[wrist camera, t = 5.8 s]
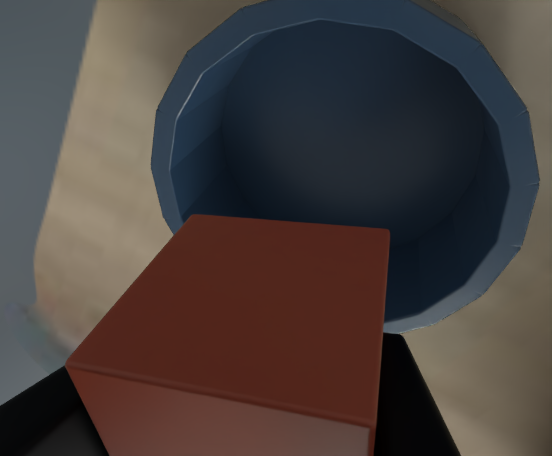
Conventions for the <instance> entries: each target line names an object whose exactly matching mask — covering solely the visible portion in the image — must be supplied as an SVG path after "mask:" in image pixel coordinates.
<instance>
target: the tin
mask: <svg viewBox="0 0 552 456" xmlns="http://www.w3.org/2000/svg"><path fill="white" fill-rule="evenodd" d="M151 170H152V174H153V178H154V182H155V186H156V190H157V194H158V198H159V202H160V206H161V211H162V215H163V218H164V219H165V221H166V223H167V225H168V226H169V228H170V229H171V231H172V233H173V234H174V235H175V233H176V232H177V231H178V230H179V229H180V228H181V227H182V225H183V224H184V223H185V222H186V221H187V220H188V218H189V217H190V216H191V215H193V214H201V215H214V216H227V217H240V218H253V219H266V220H279V221H292V222H305V223H318V224H331V225H344V226H357V227H369V228H382V229H388V230H389V232H390V245H389V258H388V272H387V286H386V299H385V313H384V327H383V332H386V333H393V334H400V333H404V332H408V331H412V330H416V329H420V328H424V327H428V326H431V325H434V324H436V323H438V322H439V321H441V320H443V319H444V318H446V317H448V316H449V315H451V314H453V313H454V312H456V311H458V310H459V309H461V308H463V307H464V306H466V305H468V304H469V303H471V302H473V301H474V300H476V299H477V298H479V297H481V296H482V295H483V294H484V293H485V292H486V291H487V289H488V288H489V287H490V286H491V285H492V283H493V282H494V281H495V280H496V278H497V277H498V276H499V275H500V273H501V272H502V271H503V270H504V269H505V267H506V266H507V265H508V264H509V262H510V261H511V260H512V259H513V257H514V256H515V255H516V254H517V253H518V251H519V250H520V248H521V246H522V244H523V241H524V237H525V234H526V230H527V227H528V223H529V220H530V216H531V213H532V209H533V206H534V202H535V199H536V196H537V192H538V189H539V181H540V178H539V172H538V166H537V160H536V154H535V147H534V141H533V135H532V129H531V123H530V117H529V112H528V111H527V107H526V106H525V104H524V103H523V101H522V100H521V98H520V97H519V96H518V94H517V93H516V91H515V90H514V88H513V87H512V85H511V84H510V83H509V81H508V80H507V78H506V77H505V75H504V74H503V72H502V71H501V70H500V68H499V67H498V65H497V64H496V62H495V61H494V60H493V58H492V57H491V55H490V54H489V52H488V51H487V49H486V48H485V47H484V45H483V44H482V43H481V42H480V40H479V39H478V38H477V37H476V36H475V35H474V34H473V32H472V31H471V30H470V29H469V28H468V27H467V25H466V24H465V23H464V22H463V21H462V20H461V19H460V18H458V17H457V16H455V15H453V14H452V13H450V12H448V11H447V10H445V9H443V8H442V7H440V6H438V5H437V4H435V3H434V2H432V1H430V0H267V1H263V2H259V3H256V4H252V5H249V6H245V7H243V8H241V9H239V10H238V11H237V12H235V13H234V14H233V15H232V16H230V17H229V18H228V19H227V20H225V21H224V22H223V23H222V24H221V25H219V26H218V27H217V28H216V29H214V30H213V31H212V32H211V33H209V34H208V35H207V36H206V37H205V38H203V39H202V40H201V41H200V42H198V43H197V44H196V45H195V46H193V47H192V48H191V49H190V50H189V51H187V54H186V55H185V56H184V58H183V60H182V62H181V64H180V65H179V67H178V69H177V71H176V73H175V75H174V77H173V79H172V81H171V83H170V84H169V86H168V88H167V90H166V92H165V94H164V96H163V98H162V100H161V102H160V104H159V105H158V109H157V110H156V117H155V127H154V137H153V147H152V157H151Z"/></svg>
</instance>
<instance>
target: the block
mask: <svg viewBox="0 0 552 456" xmlns="http://www.w3.org/2000/svg"><path fill="white" fill-rule="evenodd" d="M389 245H390V232H389V230H388V229H382V228H369V227H357V226H344V225H331V224H318V223H305V222H292V221H279V220H266V219H253V218H240V217H227V216H214V215H201V214H193V215H191V216H190V217H189V218H188V220H187V221H186V222H185V223H184V224H183V225H182V227H181V228H180V229H179V230H178V231H177V232H176V233H175V235H174V236H173V237H172V238H171V239H170V240H169V242H168V243H167V244H166V245H165V246H164V247H163V249H162V250H161V251H160V252H159V253H158V254H157V256H156V257H155V258H154V259H153V260H152V261H151V263H150V264H149V265H148V266H147V267H146V268H145V270H144V271H143V272H142V273H141V274H140V275H139V277H138V278H137V279H136V280H135V281H134V282H133V284H132V285H131V286H130V287H129V288H128V289H127V291H126V292H125V293H124V294H123V295H122V296H121V298H120V299H119V300H118V301H117V302H116V303H115V304H114V306H113V307H112V308H111V309H110V310H109V311H108V313H107V314H106V315H105V316H104V317H103V318H102V320H101V321H100V322H99V323H98V324H97V325H96V327H95V328H94V329H93V330H92V331H91V332H90V334H89V335H88V336H87V337H86V338H85V339H84V341H83V342H82V343H81V344H80V345H79V346H78V348H77V349H76V350H75V351H74V352H73V353H72V355H71V356H70V357H69V358H68V359H67V361H66V363H65V367H66V369H67V371H68V373H69V375H70V377H71V379H72V381H73V383H74V385H75V387H76V389H77V391H78V393H79V395H80V397H81V399H82V401H83V403H84V405H85V407H86V410H87V412H88V414H89V416H90V418H91V420H92V422H93V424H94V426H95V428H96V430H97V432H98V434H99V436H100V438H101V440H102V442H103V444H104V446H105V448H106V450H107V452H108V454H109V456H374V445H375V434H376V423H377V409H378V395H379V381H380V368H381V354H382V340H383V327H384V313H385V299H386V286H387V272H388V258H389Z"/></svg>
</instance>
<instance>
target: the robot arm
mask: <svg viewBox="0 0 552 456" xmlns="http://www.w3.org/2000/svg"><path fill="white" fill-rule="evenodd" d="M0 456H109V454H108V452H107V450H106V448H105V446H104V444H103V442H102V440H101V438H100V436H99V434H98V432H97V430H96V428H95V426H94V424H93V422H92V420H91V418H90V416H89V414H88V412H87V410H86V407H85V405H84V403H83V401H82V399H81V397H80V395H79V393H78V391H77V389H76V387H75V385H74V383H73V381H72V379H71V377H70V375H69V373H68V371H67V369H66V367H65V366H63V367H61V368H60V369H58V370H57V371H55V372H53V373H52V374H50V375H49V376H47V377H45V378H44V379H42V380H41V381H39V382H37V383H36V384H34V385H33V386H31V387H29V388H28V389H26V390H25V391H23V392H21V393H20V394H18V395H17V396H15V397H14V398H12V399H10V400H9V401H7V402H6V403H4V404H3V405H1V406H0ZM374 456H461V455H460V453H459V451H458V448H457V446H456V444H455V442H454V440H453V438H452V436H451V434H450V432H449V430H448V428H447V426H446V424H445V422H444V420H443V417H442V415H441V413H440V411H439V409H438V407H437V405H436V403H435V401H434V399H433V397H432V395H431V393H430V391H429V388H428V386H427V384H426V382H425V380H424V378H423V376H422V374H421V372H420V370H419V368H418V366H417V364H416V362H415V360H414V357H413V355H412V353H411V351H410V349H409V347H408V345H407V343H406V341H405V339H404V337H403V336H402V335H400V334H393V333H386V332H383V340H382V354H381V368H380V381H379V395H378V409H377V423H376V434H375V445H374Z"/></svg>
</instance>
